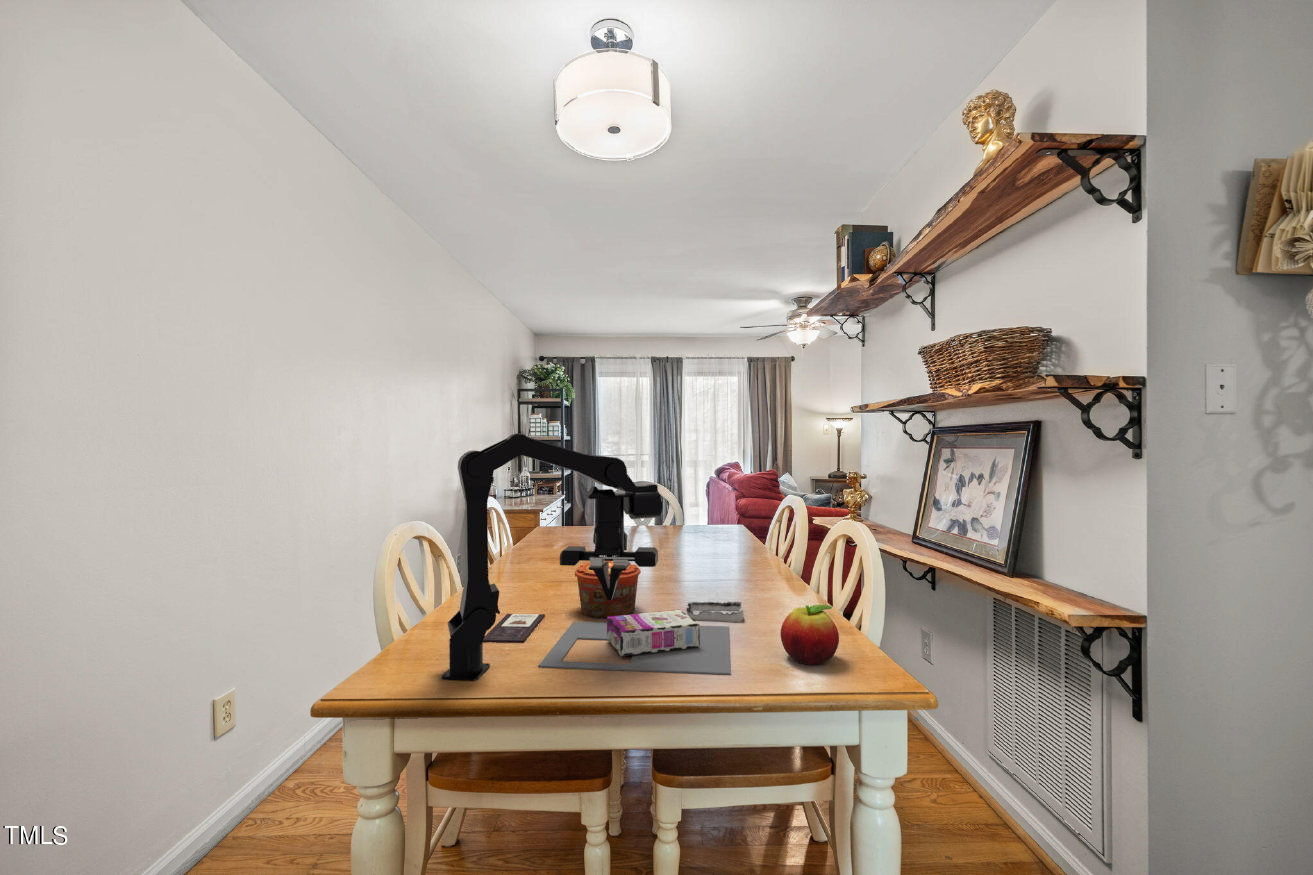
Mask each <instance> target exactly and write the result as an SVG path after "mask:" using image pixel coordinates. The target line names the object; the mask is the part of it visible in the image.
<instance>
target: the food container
mask: <svg viewBox="0 0 1313 875" xmlns="http://www.w3.org/2000/svg"><path fill="white" fill-rule="evenodd" d="M607 562H609V570H608V571H609V581H610V570H611V567H612V566H613V565H614V563H613V561H607ZM589 567H590V562H586V563H583V564H580V566H578V567H577V568H576V569H575V570H574V576H575V577H576V579H577V580H576V581H577V587H578V593H579V595H578V596H579V602H580V603H579V604H580V608H581V614H582V615H584V616H586V617H588V618H592V619H607V617H611V616H621V615H631V614H633V613H634V612H635V609H636V599H637V591H638V582H639V575H640V574H641V568H640V567H639V566H638V565H637V564H636V563H634V564H633V563H632V564H631V562H630V565H629V567H628V568H627V570H626V571H622V572H621V575H620V577H619V579H618V582H617V586H616V589H615V592H614V595H613V599H612V601H610V600H609V601H608V600H607V598H606V596H605V593H604V591H603V588H602V586H601V583H600V581H599V580H598V578H597V576H596V574H595V572H594V571H593V570H589Z"/></svg>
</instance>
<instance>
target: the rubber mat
mask: <svg viewBox="0 0 1313 875" xmlns="http://www.w3.org/2000/svg"><path fill="white" fill-rule="evenodd" d="M699 639H700V646H699V647H697V648H688V649H680V650H671V651H661V652H654V653H645V654H637V655H631V659H630V661H629V663H621V662H620V663H619V662H618V663H617V662H597V661H596V662H594V661H593V662H591V661H571V660H570V661H565V660H564V659H565V657H566V655H567V654H568V653H569V652H570V650H571V649H572V648H573V646H574V645H575V643H576V642H577V640H591V641H592V640H593V641H595V640H597V641H609V640H608V639H607V622H599V621H598V622H597V621H595V622H594V621H573V622H571V624H570V625H569V626H568V628H567V629H566V630H565V632H564V633H563V634H562V635H561V636H560V638H559V639H558V640H557V642H555V643H554V645H553V647H552V648H551V649H550V650H549V652H548V653H547V654H546V655H545V657H544V658H543V659H542V660H541V662H539V664H538V665H537V667H538V668H547V669H548V668H549V669H551V668H553V669H574V670H575V669H578V670H597V671H599V670H603V671H622V670H624V671H628V672H646V673H647V672H650V673H651V672H653V673H672V674H673V673H676V674H677V673H678V674H699V675H701V674H703V675H723V676H725V675H727V676H730V675H731V674H732V673H731V653H730V652H731V651H730V650H731V648H730V647H731V646H730V626H729V625H727V626H724V625H700V638H699Z"/></svg>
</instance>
